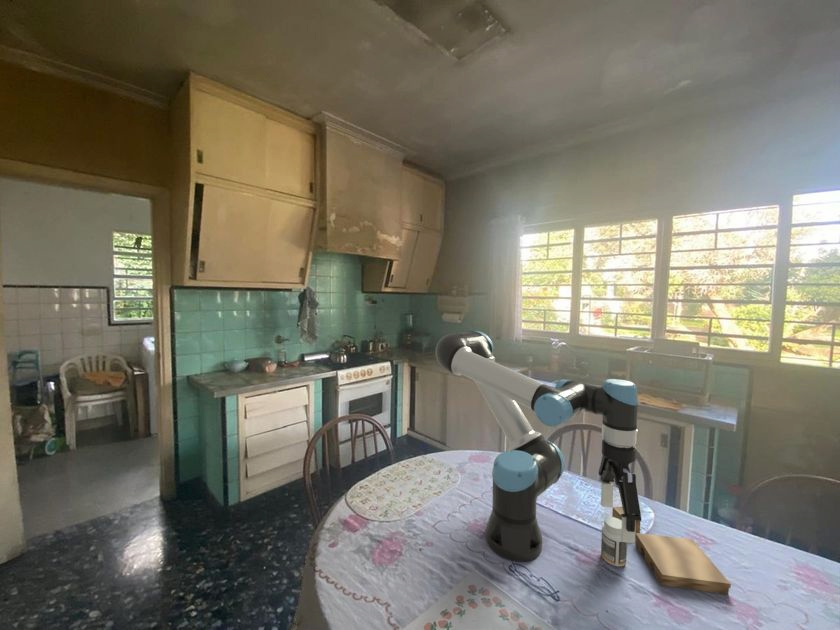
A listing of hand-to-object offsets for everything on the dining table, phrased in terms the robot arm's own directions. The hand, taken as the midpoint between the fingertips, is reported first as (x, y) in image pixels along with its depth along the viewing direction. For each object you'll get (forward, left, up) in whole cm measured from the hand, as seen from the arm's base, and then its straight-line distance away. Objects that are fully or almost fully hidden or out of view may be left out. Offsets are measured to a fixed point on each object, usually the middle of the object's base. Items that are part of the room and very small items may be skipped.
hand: (616, 522), depth 86 cm
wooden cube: (+8, +13, -10) cm, 18 cm away
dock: (+15, 0, -10) cm, 18 cm away
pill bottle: (0, 0, -10) cm, 10 cm away
